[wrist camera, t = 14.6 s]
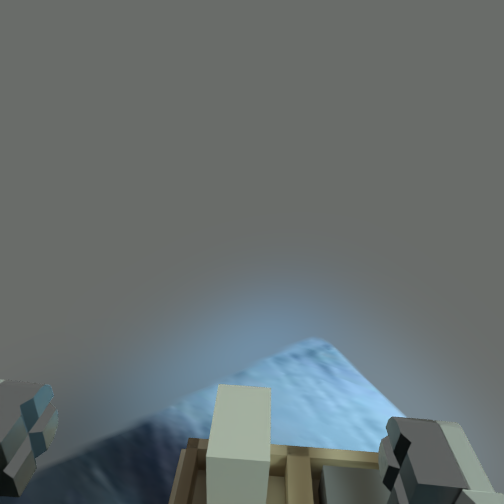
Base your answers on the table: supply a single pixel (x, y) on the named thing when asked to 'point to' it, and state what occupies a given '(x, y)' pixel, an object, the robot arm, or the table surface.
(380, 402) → the table surface
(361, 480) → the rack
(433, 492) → the robot arm
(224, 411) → the white carton
